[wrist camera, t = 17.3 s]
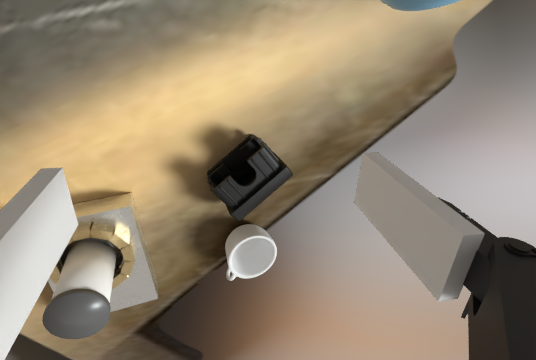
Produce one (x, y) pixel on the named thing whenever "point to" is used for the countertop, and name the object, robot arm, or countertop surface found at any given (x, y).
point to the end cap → (247, 176)
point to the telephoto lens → (82, 291)
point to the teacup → (249, 252)
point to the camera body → (116, 248)
